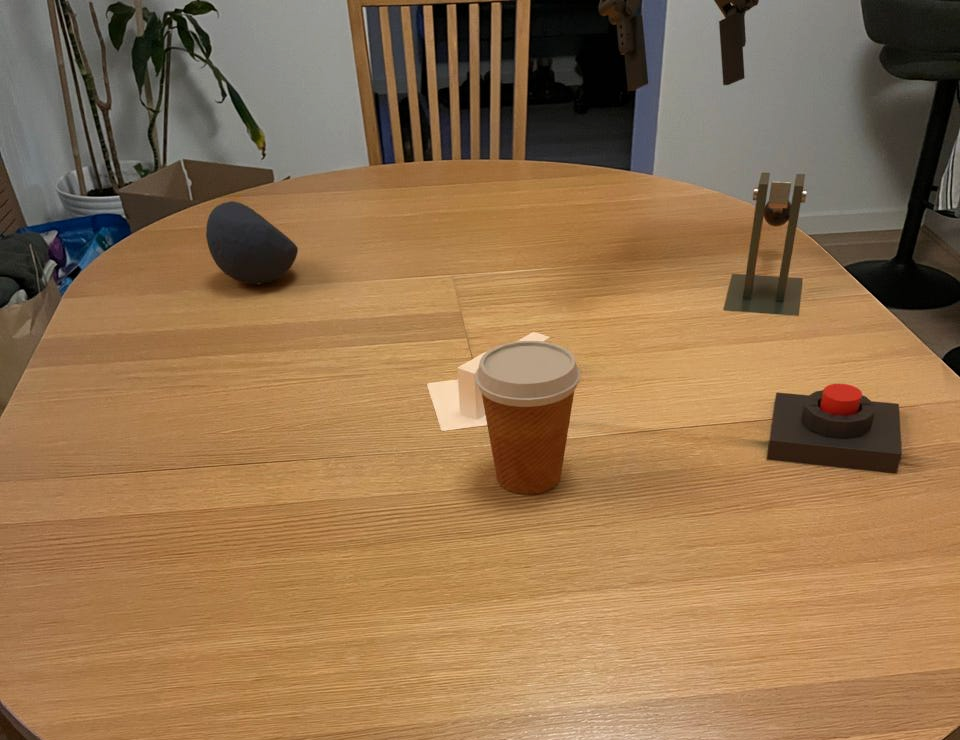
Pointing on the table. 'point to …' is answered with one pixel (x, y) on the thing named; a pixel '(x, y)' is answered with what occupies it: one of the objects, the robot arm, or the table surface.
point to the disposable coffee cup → (528, 411)
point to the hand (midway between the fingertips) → (687, 85)
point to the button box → (835, 434)
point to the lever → (778, 204)
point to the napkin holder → (464, 395)
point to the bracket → (768, 290)
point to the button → (841, 399)
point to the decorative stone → (248, 244)
